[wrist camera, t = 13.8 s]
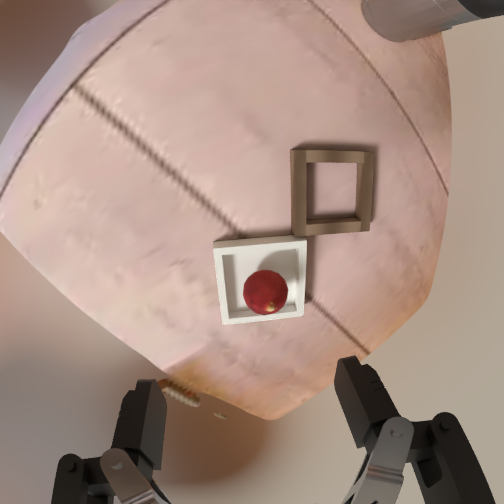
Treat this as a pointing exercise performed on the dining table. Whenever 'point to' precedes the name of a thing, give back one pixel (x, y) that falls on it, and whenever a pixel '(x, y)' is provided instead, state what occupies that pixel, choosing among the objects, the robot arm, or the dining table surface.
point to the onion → (265, 292)
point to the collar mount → (300, 192)
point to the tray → (255, 259)
